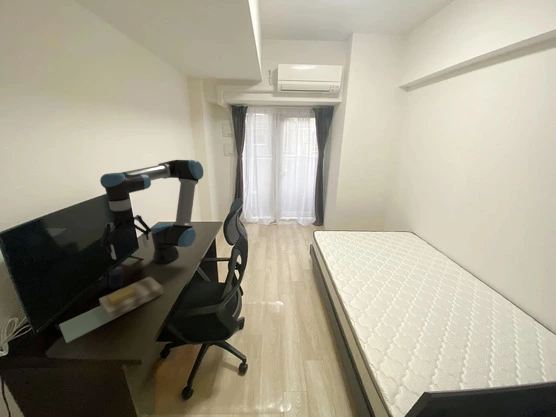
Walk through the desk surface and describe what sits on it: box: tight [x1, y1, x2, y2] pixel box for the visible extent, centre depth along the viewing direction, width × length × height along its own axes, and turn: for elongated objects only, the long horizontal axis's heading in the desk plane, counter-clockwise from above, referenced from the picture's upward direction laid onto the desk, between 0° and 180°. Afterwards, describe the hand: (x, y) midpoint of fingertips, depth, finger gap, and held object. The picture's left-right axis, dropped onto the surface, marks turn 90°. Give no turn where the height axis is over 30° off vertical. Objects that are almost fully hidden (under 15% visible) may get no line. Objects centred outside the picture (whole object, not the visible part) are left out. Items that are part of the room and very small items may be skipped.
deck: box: [98, 276, 165, 321], centre depth 104 cm, size 22×14×4 cm, turn 142°
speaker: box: [106, 265, 124, 290], centre depth 113 cm, size 8×6×10 cm
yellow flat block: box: [107, 285, 135, 305], centre depth 100 cm, size 9×6×2 cm, turn 142°
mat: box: [58, 305, 112, 344], centre depth 91 cm, size 14×14×1 cm
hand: (131, 252), depth 102 cm, fingers open, 13 cm apart
